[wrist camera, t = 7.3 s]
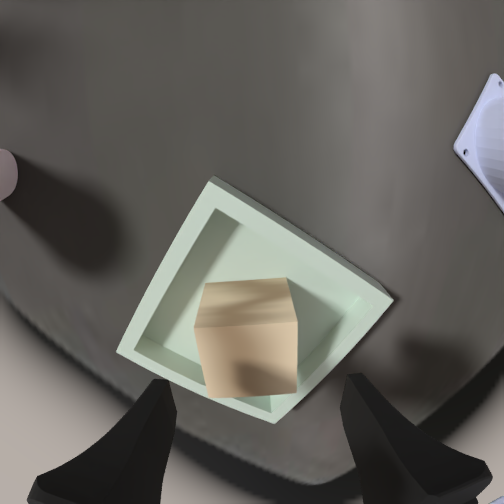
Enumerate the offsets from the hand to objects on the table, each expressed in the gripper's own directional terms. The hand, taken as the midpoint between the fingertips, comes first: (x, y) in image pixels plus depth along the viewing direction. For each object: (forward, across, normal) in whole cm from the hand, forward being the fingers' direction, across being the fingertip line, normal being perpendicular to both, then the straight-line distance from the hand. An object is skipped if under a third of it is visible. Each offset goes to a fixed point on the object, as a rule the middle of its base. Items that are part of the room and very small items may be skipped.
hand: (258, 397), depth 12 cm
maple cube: (+9, 0, +1) cm, 9 cm away
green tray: (+9, 0, +2) cm, 9 cm away
